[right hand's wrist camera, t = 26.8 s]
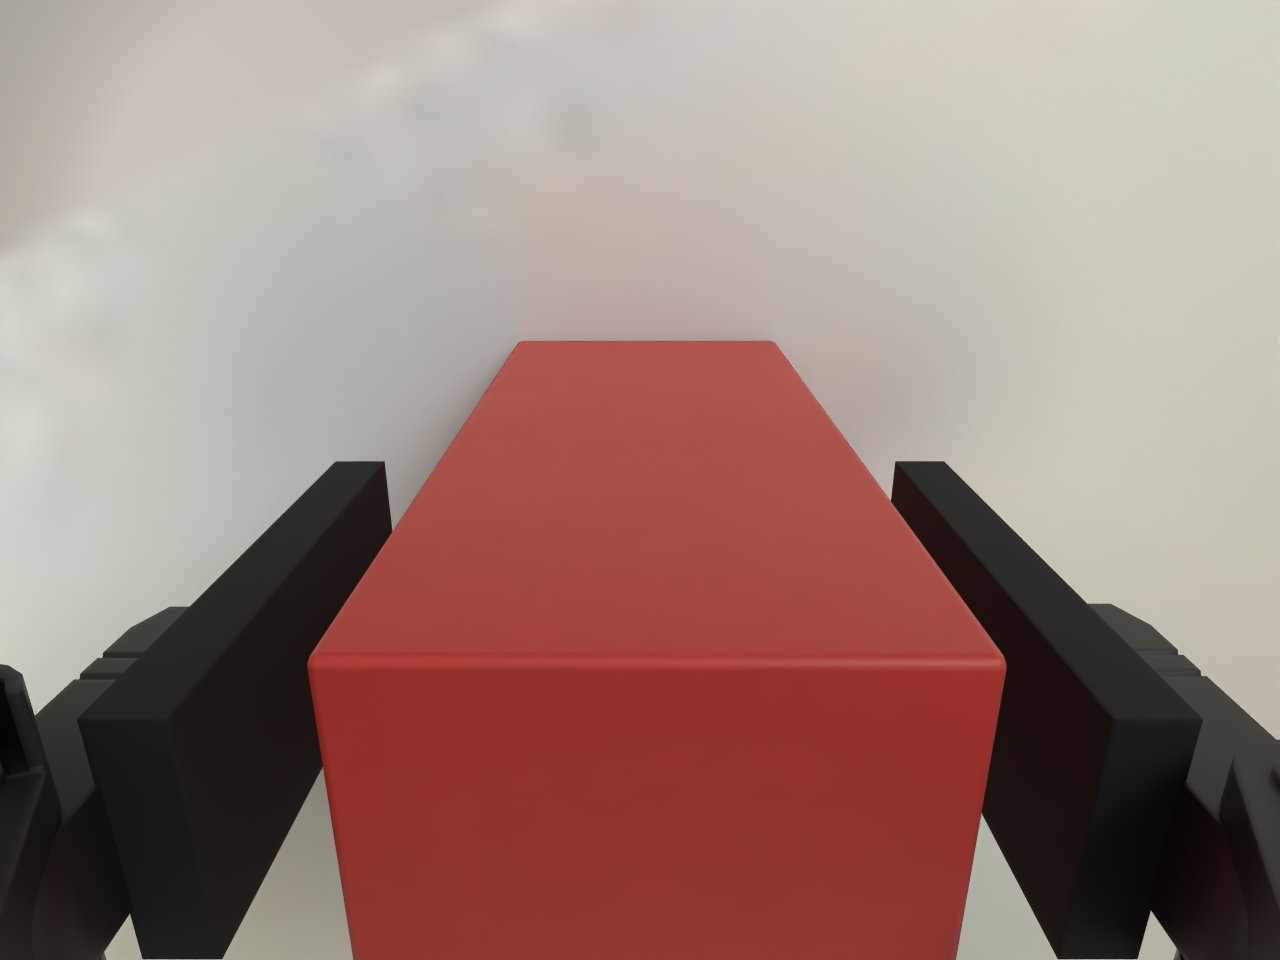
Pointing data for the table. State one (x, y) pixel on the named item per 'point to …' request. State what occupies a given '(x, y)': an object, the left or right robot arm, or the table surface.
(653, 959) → the brick
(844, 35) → the table surface
